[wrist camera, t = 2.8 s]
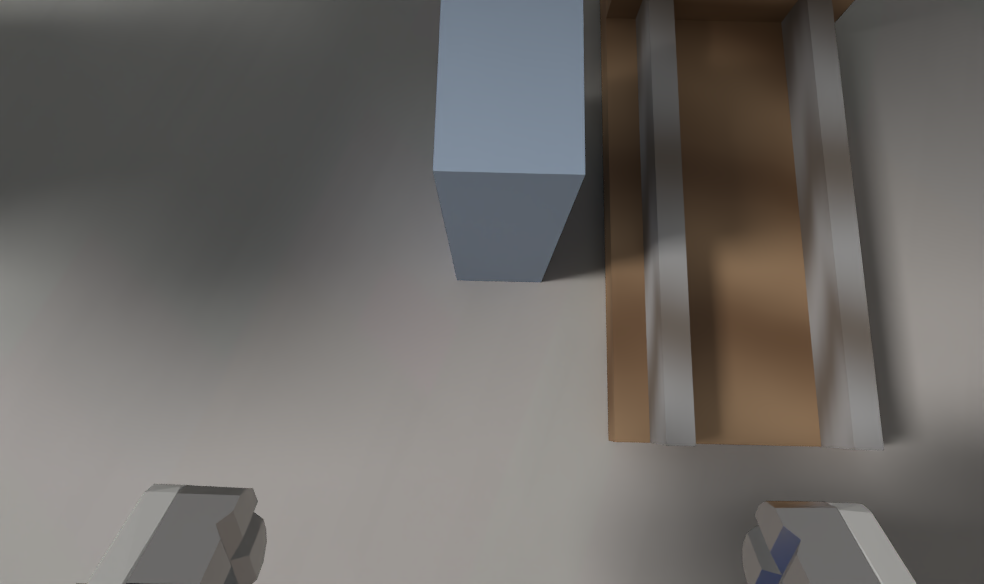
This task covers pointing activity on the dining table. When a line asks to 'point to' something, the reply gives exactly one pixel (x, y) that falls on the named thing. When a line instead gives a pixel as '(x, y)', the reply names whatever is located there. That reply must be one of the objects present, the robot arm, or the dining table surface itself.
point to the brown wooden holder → (732, 228)
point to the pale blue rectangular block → (508, 132)
